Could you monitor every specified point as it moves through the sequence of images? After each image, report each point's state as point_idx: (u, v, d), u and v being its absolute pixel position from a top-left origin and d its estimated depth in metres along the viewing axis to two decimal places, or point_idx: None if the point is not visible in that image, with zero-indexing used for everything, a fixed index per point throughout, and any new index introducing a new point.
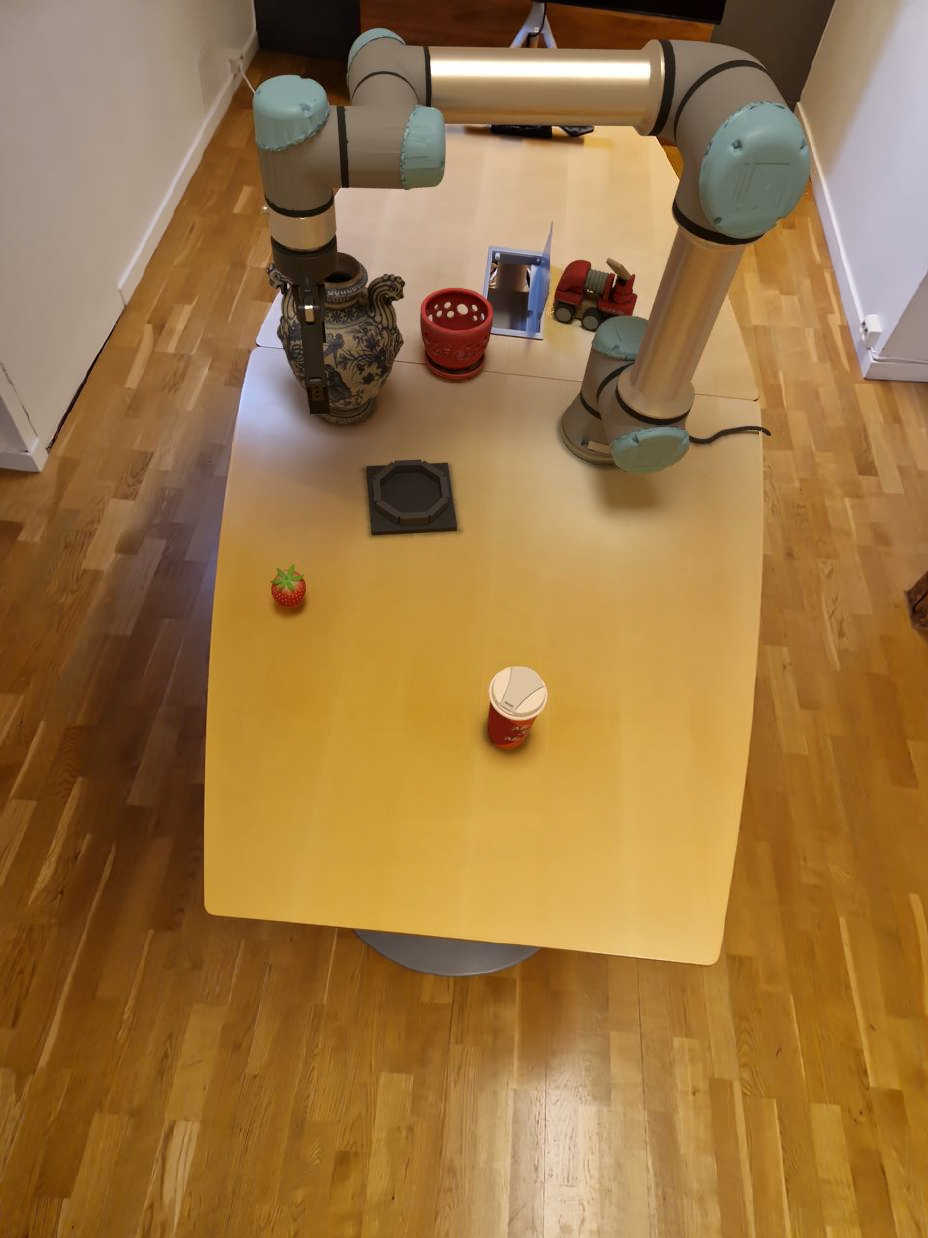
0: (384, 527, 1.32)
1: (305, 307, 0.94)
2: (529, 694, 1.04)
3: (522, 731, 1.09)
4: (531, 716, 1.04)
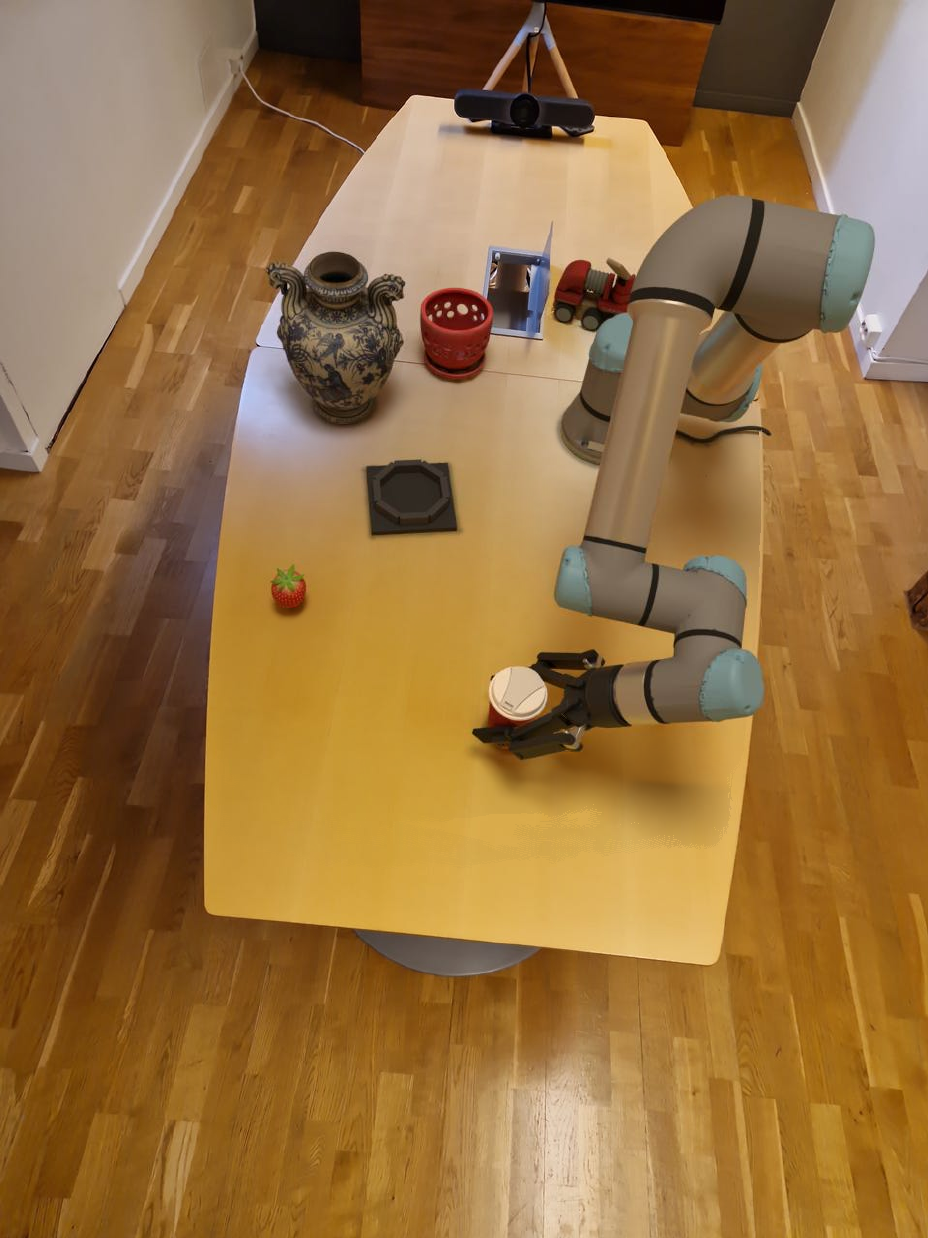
0: (384, 527, 1.32)
1: None
2: (529, 694, 1.04)
3: None
4: (531, 716, 1.04)
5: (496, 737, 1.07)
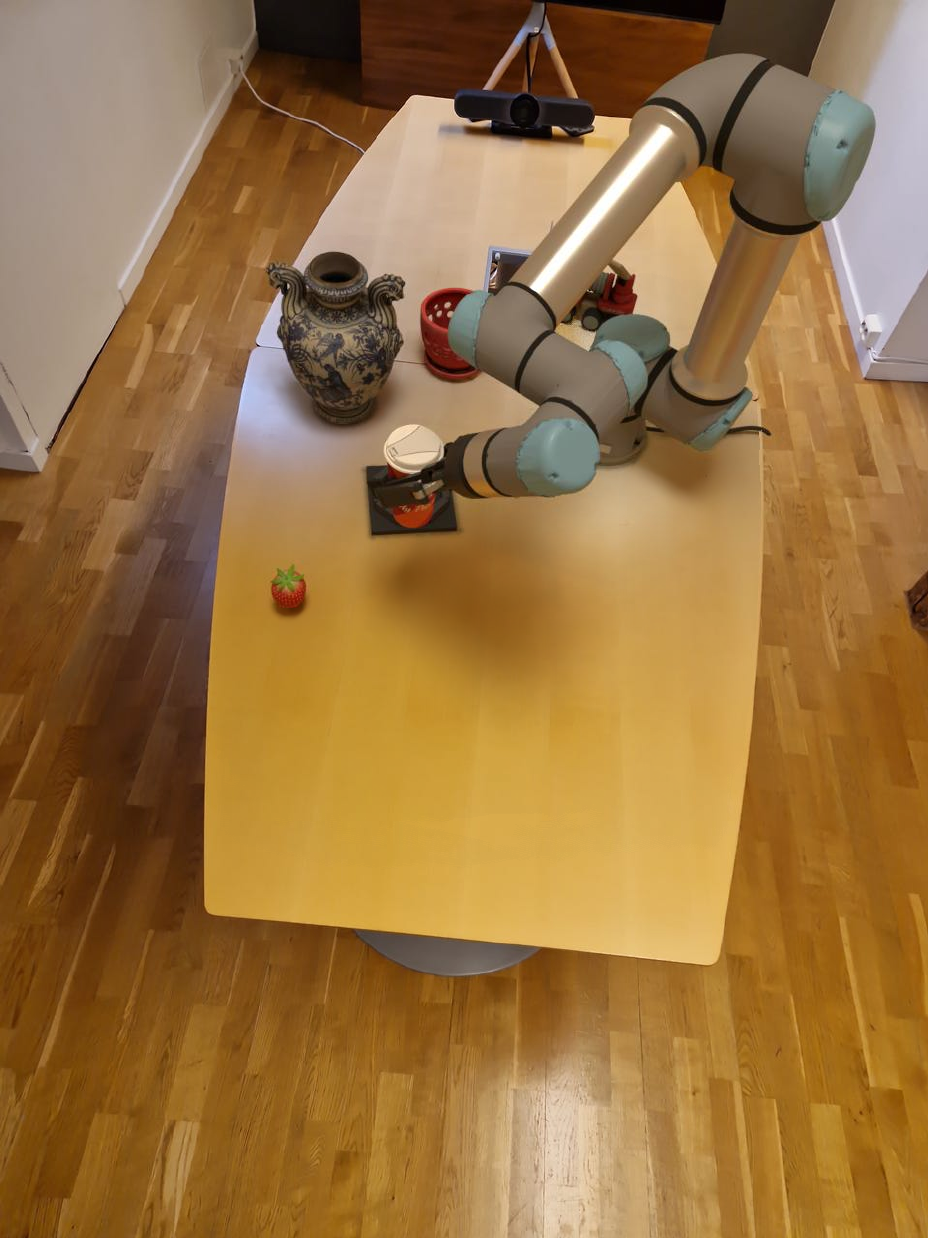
0: (384, 527, 1.32)
1: None
2: (419, 451, 1.02)
3: None
4: (410, 471, 1.02)
5: (379, 487, 1.06)
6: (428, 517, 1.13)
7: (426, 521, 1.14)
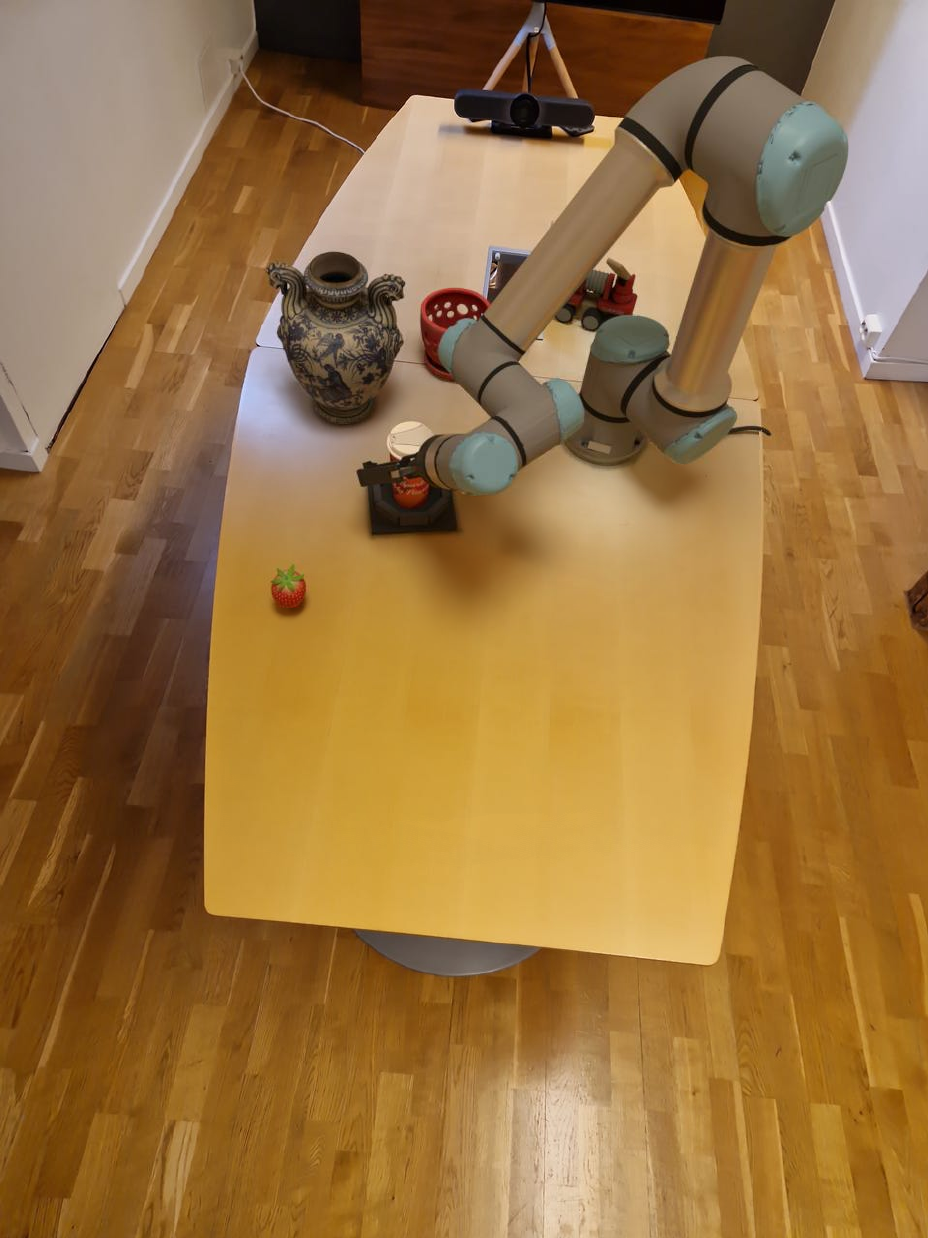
0: (384, 527, 1.32)
1: None
2: (413, 444, 1.23)
3: None
4: (401, 458, 1.23)
5: None
6: (419, 502, 1.34)
7: (417, 505, 1.34)
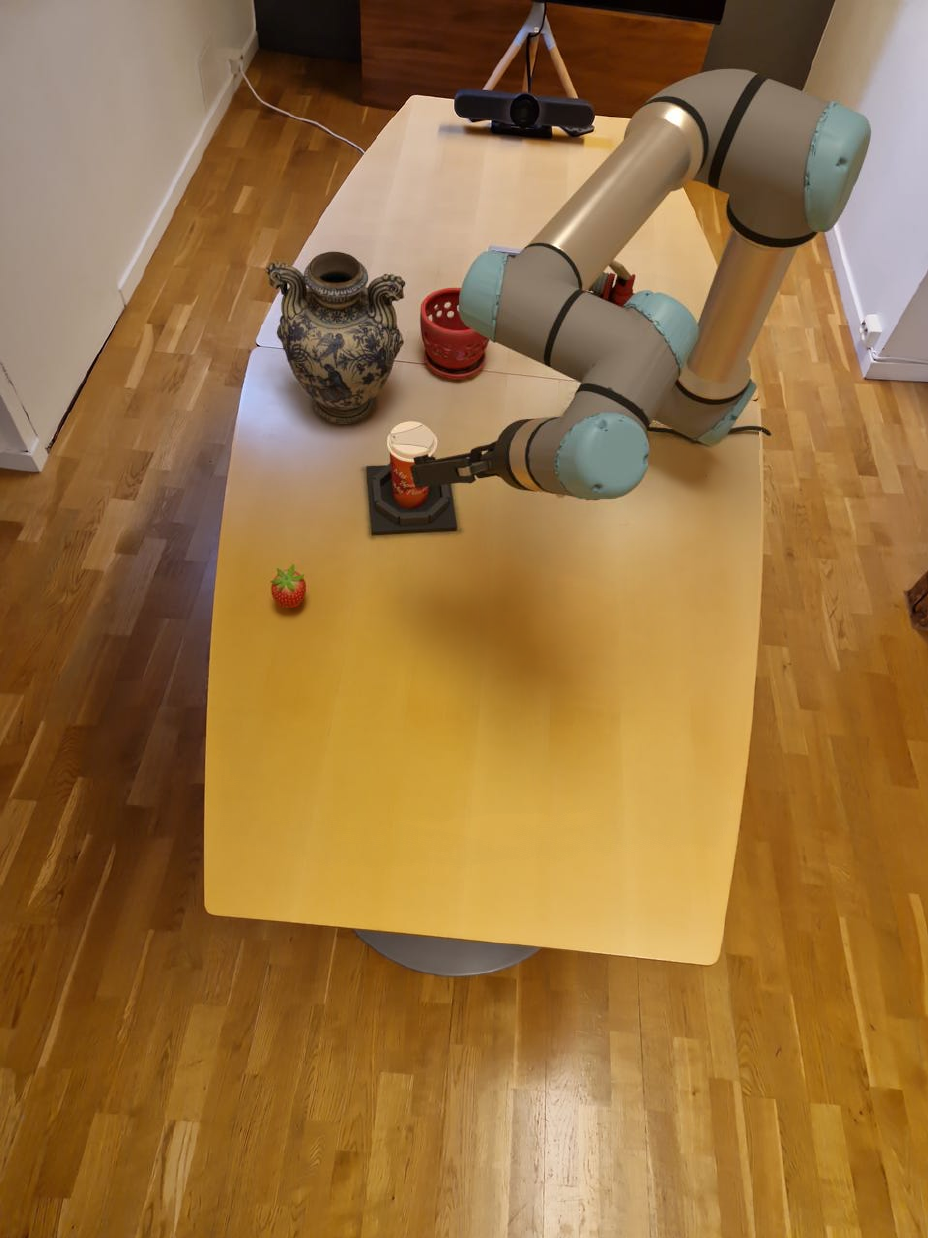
0: (384, 527, 1.32)
1: None
2: (413, 444, 1.23)
3: (401, 480, 1.28)
4: (402, 458, 1.23)
5: None
6: (419, 502, 1.34)
7: (417, 505, 1.34)
